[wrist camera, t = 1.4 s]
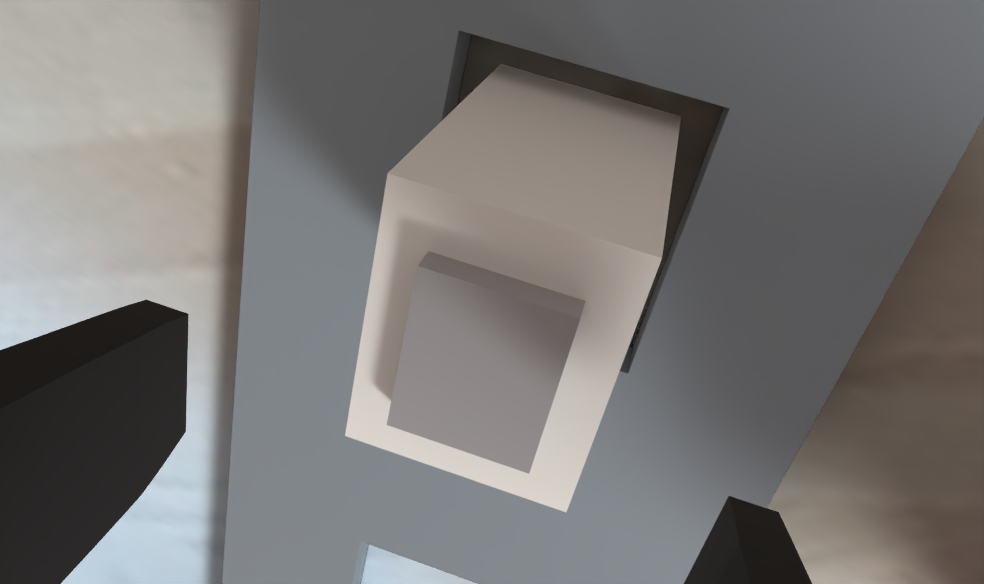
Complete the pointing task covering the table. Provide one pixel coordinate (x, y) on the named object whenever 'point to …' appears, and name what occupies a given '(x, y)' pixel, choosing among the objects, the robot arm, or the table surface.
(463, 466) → the plug
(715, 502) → the panel
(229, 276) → the table surface
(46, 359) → the robot arm
